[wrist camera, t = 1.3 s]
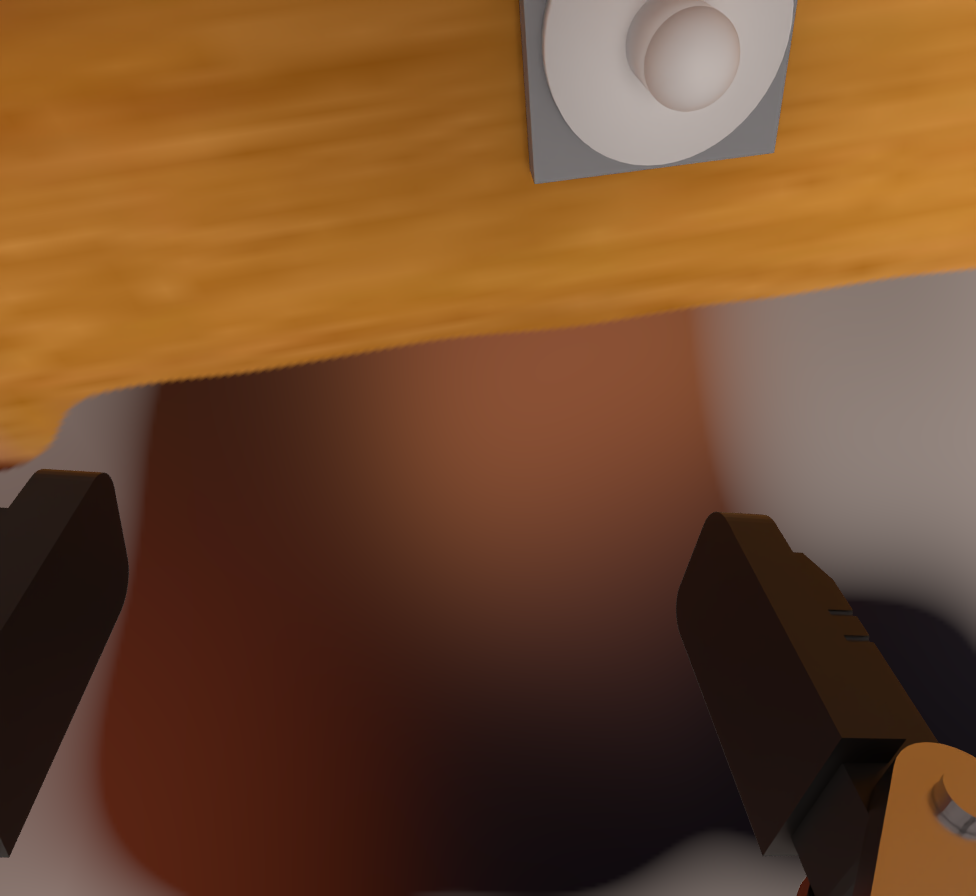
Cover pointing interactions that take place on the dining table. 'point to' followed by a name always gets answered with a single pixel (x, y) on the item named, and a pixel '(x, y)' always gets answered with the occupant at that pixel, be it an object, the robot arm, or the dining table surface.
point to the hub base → (651, 82)
